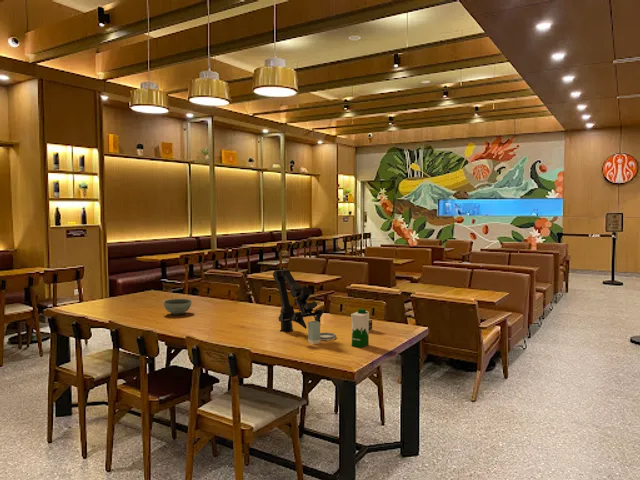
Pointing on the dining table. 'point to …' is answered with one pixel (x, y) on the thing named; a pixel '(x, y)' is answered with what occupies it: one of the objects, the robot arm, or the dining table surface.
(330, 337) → the coaster
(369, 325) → the medicine bottle
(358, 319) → the milk carton
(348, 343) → the dining table surface
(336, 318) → the dining table surface
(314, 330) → the gray block
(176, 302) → the bowl
